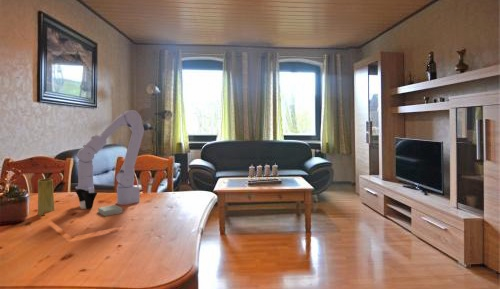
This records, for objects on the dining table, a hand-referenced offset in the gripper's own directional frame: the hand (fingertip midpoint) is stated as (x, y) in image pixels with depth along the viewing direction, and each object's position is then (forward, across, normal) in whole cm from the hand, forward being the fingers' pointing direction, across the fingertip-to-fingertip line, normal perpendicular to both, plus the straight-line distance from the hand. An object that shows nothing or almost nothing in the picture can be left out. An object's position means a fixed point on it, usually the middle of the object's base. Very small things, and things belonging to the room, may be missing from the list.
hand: (86, 206), depth 138 cm
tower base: (+2, +16, +4) cm, 17 cm away
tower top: (0, +16, +4) cm, 17 cm away
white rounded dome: (+2, 0, 0) cm, 2 cm away
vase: (+2, -5, -14) cm, 15 cm away
